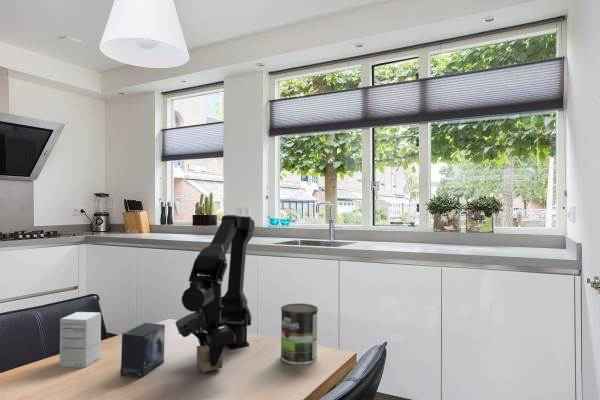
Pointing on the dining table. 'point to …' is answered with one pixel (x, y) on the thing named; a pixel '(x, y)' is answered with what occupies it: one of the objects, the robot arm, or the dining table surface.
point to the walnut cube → (206, 359)
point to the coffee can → (299, 334)
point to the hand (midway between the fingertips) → (209, 362)
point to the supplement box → (80, 339)
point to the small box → (142, 349)
